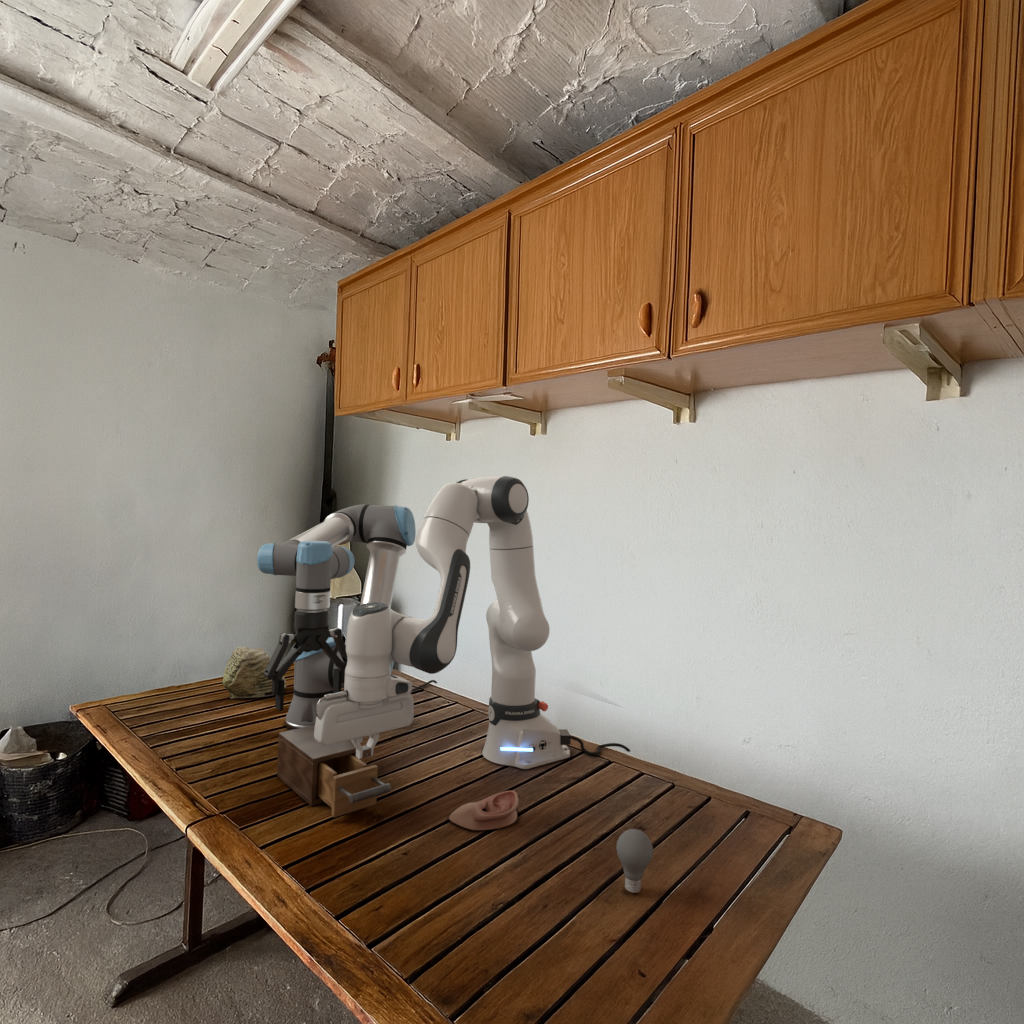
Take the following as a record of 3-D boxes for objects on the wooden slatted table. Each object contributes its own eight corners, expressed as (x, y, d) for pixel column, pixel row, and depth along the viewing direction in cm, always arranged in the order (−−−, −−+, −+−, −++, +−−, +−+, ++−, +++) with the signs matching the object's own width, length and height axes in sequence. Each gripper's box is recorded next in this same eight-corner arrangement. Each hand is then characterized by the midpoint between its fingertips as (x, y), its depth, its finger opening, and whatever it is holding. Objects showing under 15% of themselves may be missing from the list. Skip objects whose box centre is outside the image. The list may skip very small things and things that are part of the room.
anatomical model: (444, 806, 124) (461, 780, 135) (443, 826, 124) (460, 799, 135) (511, 815, 121) (522, 789, 132) (510, 836, 121) (521, 808, 132)
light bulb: (610, 879, 108) (613, 822, 108) (644, 879, 109) (647, 822, 109) (619, 902, 102) (622, 840, 102) (655, 901, 103) (658, 840, 103)
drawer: (392, 815, 125) (394, 776, 125) (349, 830, 119) (350, 790, 119) (338, 775, 142) (340, 741, 142) (298, 786, 136) (299, 751, 135)
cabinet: (358, 792, 137) (359, 747, 136) (311, 806, 130) (313, 759, 129) (321, 764, 150) (322, 723, 150) (276, 775, 143) (278, 732, 142)
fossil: (218, 695, 195) (220, 647, 195) (278, 685, 208) (279, 640, 207) (228, 703, 189) (230, 653, 188) (289, 692, 201) (290, 645, 201)
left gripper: (263, 617, 132) (259, 718, 132) (370, 607, 148) (366, 697, 149) (250, 611, 137) (246, 708, 138) (354, 602, 154) (351, 689, 154)
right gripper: (324, 700, 115) (321, 776, 115) (419, 682, 129) (416, 750, 129) (309, 691, 120) (306, 764, 120) (402, 675, 133) (399, 740, 133)
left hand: (308, 703), depth 143 cm, fingers open, 13 cm apart
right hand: (364, 756), depth 124 cm, fingers closed
